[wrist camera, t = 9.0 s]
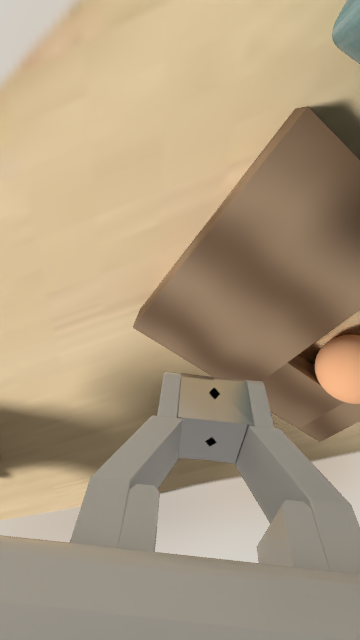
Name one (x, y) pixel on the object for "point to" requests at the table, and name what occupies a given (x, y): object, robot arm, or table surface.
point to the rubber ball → (340, 368)
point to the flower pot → (348, 30)
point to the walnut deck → (272, 275)
